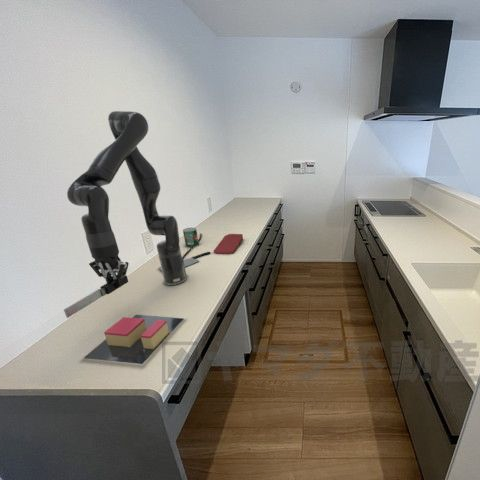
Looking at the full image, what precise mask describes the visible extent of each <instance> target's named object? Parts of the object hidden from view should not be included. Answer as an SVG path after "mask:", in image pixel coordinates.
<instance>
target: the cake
mask: <svg viewBox="0 0 480 480" xmlns="http://www.w3.org/2000/svg"><path fill="white" fill-rule="evenodd" d="M146 330H147V327H146V324H145V320H144V319H139V318H133V317H126V316H123V317H122V318H120V319H118V321H116V322H115V323H114V324H112V326H110V327H109V328H108V329H107V330H105V331H104V332H103V334H104V337H105V340H107V343H108V345H114V346H125V347H131V346H132V345H133V344H134V343H135V342H136V341H137V340H138V339H139V338H140V337H141V335H142V334H143V333H144V332H145V331H146Z"/></svg>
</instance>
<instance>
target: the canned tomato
mask: <svg viewBox="0 0 480 480" xmlns="http://www.w3.org/2000/svg"><path fill="white" fill-rule="evenodd" d="M182 234H183V238H184V245H185V248H189V249H190V248H191V247H192V246H194V247H193V248H196V247H198V246H199V245H200V244H199V243H200V242H198V240H199V236H198V231H197V227H186V228H183V229H182Z"/></svg>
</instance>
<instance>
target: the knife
mask: <svg viewBox="0 0 480 480" xmlns="http://www.w3.org/2000/svg"><path fill="white" fill-rule="evenodd" d="M121 278H122V281H123V285H122V286H121V287H123V286H124V285H126V284H127V283H129V279H128V275H127V274H126V275H124V276H123V277H121ZM118 289H119V288H116V285H115V282H114V279H113V280H112V281H110V282H108V283H107V282H105V283H104V284H103V285H101V286H100V288H98V289H96V290H94V291H93V292H90V293H89V294H88V295H86V296H84V297H83V298H81V299H79V300H77V301H75V302H74V303H72V304H71V305H69V306H67V307H66V308H64V309H63V312H64V315H65V317H66V319H69V318H70V317H72V316H73V315H75V314H77V313H79V312H80V311H82V310H83V309H84V308H86V307H88V306H90V305H91V304H92V303H94V302H96V301H98V300H99V299H101V298H103V297H104V296H106V295H110V294H112V293H114V292H115V291H116V290H118Z"/></svg>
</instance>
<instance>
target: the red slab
mask: <svg viewBox="0 0 480 480" xmlns="http://www.w3.org/2000/svg"><path fill="white" fill-rule="evenodd" d="M243 235H244V234H243V233H228V234H226V235H224V236H223V237H222V239H221V240H220V242H219V243H218V244H217V246H216V247H215V248H214V249H213V253H214V254H217V255H232V254H235V251H236V250H237V249H238V247H239V245H240V244H241V242H242V241H243V240H244V236H243Z"/></svg>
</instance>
